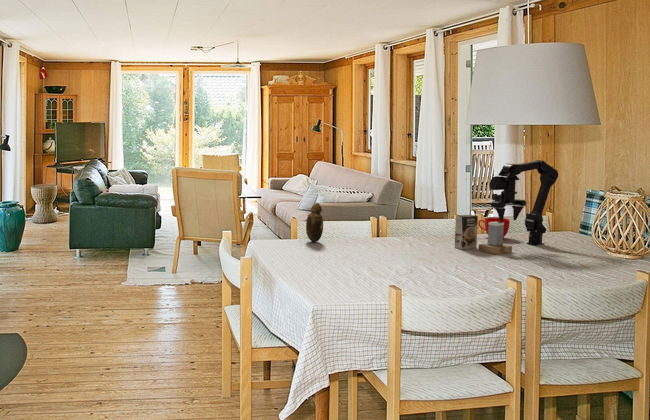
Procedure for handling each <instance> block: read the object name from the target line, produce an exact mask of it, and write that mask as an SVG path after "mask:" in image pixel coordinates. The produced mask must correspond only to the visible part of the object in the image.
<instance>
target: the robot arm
mask: <svg viewBox="0 0 650 420" xmlns="http://www.w3.org/2000/svg"><path fill="white" fill-rule="evenodd" d="M532 170H536V171H537V173H538V174H539V181H540V186H539V189H538V192H537V196H536V198H535V201H534V205H533V208H532V211H531V212H530V213H529V212H527V213H526V215H525V218H524V226H525V229H526V231H527V232H529V234H528V242H526V244H527V245H532V246H543V245H545V243H544V242H543V235H544V234H546V231H547V228H546V227H545V226H544V217H543V212H544V209H545V206H546V202H547V199H548V196H549V193H550V190H551V188H552V186H553V185H554V184H555V183H556V182H557V180H558V177H559V172H558V170H557V169H556V168H554V167H552V166H551V165H550V164H548V163H547V162H546V161H545V160H541V159H537V160H533V161H532V160H531V161H529V162H527V161H526V162H521V163H504V164H503V165H502V169H500V171H499V173H498V174H497V176H496V175H493V176H492V177H491V179H490V180H489V183H488V185H489V188H490V190H491V191H501V192H500V194H498V193H493V194H491V199H492V201H491V203H490V207H491V208H492V209H494V210H495V211H496V212H497V216H498V218H499V219H500V221H501V222H502V221H503V218H505V213H506V208H505V207H506V206H507V207H508V206H511V207H512V211H513V213H512V214H513V218H512V219H513V221H517V218H518V217H519V215H520V214H521V211H522V210H523V209H524V208H525V207H526V206H527V201H526V200H525V199H519V198H517V199H516V195H517V194H518V192H517V191H516V182H517V181H520V178H519V177H518V175H521V173H523V172H528V171H532Z"/></svg>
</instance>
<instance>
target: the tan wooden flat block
mask: <svg viewBox="0 0 650 420" xmlns="http://www.w3.org/2000/svg"><path fill="white" fill-rule="evenodd" d="M478 251H479V252H482V253H488V254H491V255H501V254H509V253H513V246H512V245H509V244H504V243H503V246H497V247H495V246H490V245H488V243H481V244H478Z"/></svg>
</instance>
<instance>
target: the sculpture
mask: <svg viewBox="0 0 650 420" xmlns="http://www.w3.org/2000/svg"><path fill="white" fill-rule="evenodd" d="M310 212H311V213H309V214H307V218H306V223H305V232H306V236H307V238H308V240H310V241H311V242H312V241H313V242H312V243H316V242H315V241H317V242H319V241H320V239H321V237H322V235H323V232H324V218H323V215H322V214H321V213H322V212H323V208H322V205H321V203H318V202H315V203H313V204H312V205H311V208H310Z"/></svg>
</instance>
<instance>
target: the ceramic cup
mask: <svg viewBox="0 0 650 420" xmlns="http://www.w3.org/2000/svg"><path fill="white" fill-rule="evenodd" d="M510 221H511V220H510V219H509V218H505V217H504V218H503V221H502V223H504V230H503V238H504V237H506V235H507V234H508V231H509V229H510ZM481 222H483V224H484V227H483V226H482V225H481ZM488 222H501V221H500V219H499V217H486V218H484V219H479V220H478V225H477V226H478V227H479V229H481V230H483V231H485V232H486V234H487V235H488V228H489V225H488Z"/></svg>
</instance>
